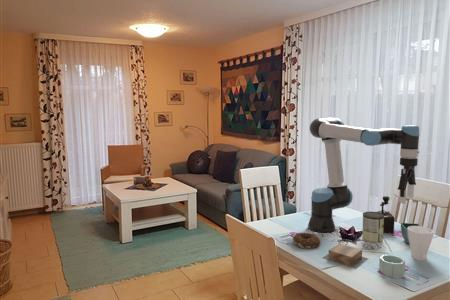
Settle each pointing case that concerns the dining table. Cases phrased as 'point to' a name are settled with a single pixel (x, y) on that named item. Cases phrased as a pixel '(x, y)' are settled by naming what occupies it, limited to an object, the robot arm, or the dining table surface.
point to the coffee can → (373, 227)
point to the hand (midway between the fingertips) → (406, 200)
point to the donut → (306, 240)
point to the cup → (419, 241)
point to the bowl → (392, 266)
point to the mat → (346, 264)
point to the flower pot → (404, 230)
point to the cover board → (345, 254)
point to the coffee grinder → (387, 217)
